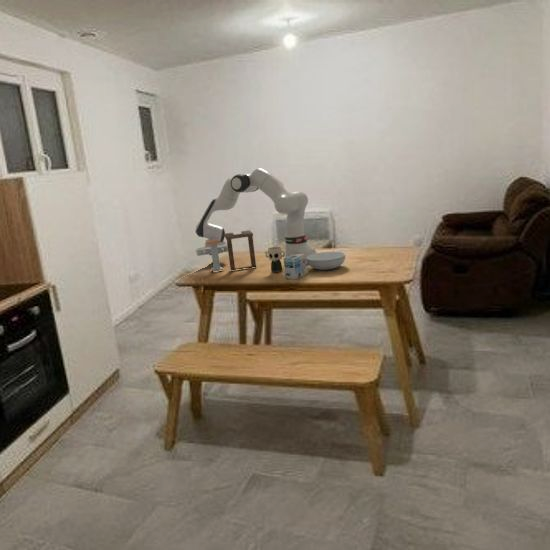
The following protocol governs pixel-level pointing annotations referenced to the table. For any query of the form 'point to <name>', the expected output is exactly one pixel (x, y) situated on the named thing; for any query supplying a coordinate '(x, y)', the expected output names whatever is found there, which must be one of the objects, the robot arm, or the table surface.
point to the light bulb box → (295, 266)
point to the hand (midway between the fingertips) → (213, 252)
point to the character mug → (275, 258)
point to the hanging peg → (214, 253)
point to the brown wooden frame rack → (230, 250)
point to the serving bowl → (325, 260)
